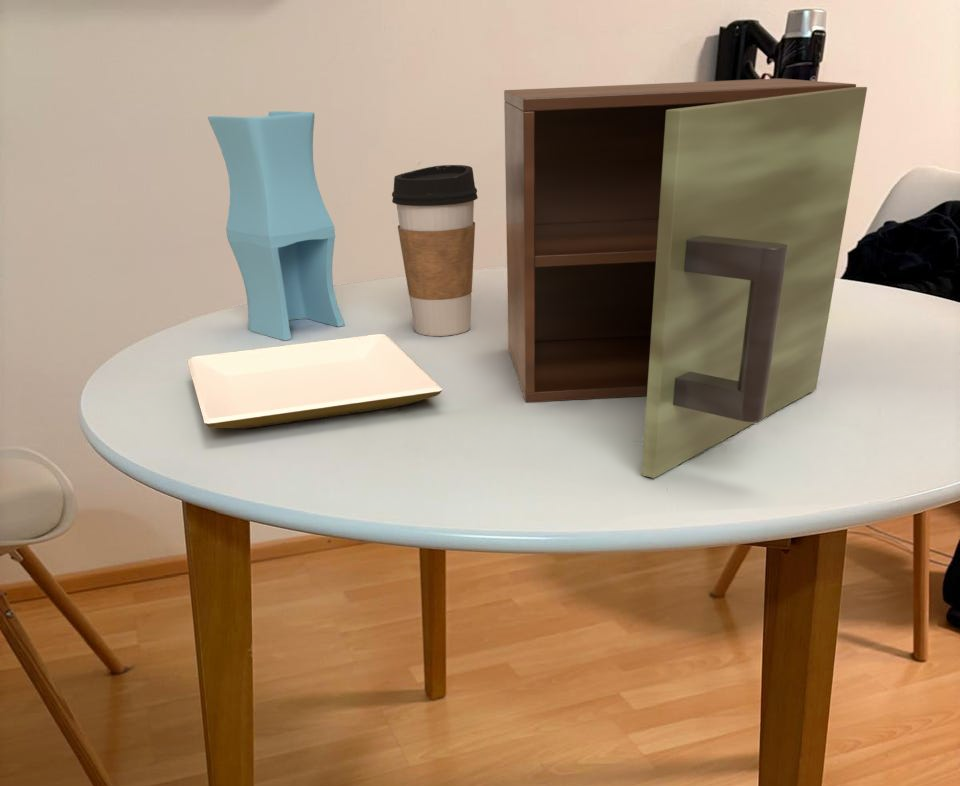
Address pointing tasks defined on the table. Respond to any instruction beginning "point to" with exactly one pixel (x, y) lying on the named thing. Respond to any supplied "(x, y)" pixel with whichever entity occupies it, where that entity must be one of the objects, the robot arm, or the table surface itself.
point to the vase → (278, 220)
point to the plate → (306, 381)
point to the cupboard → (593, 227)
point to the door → (744, 263)
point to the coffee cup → (437, 245)
